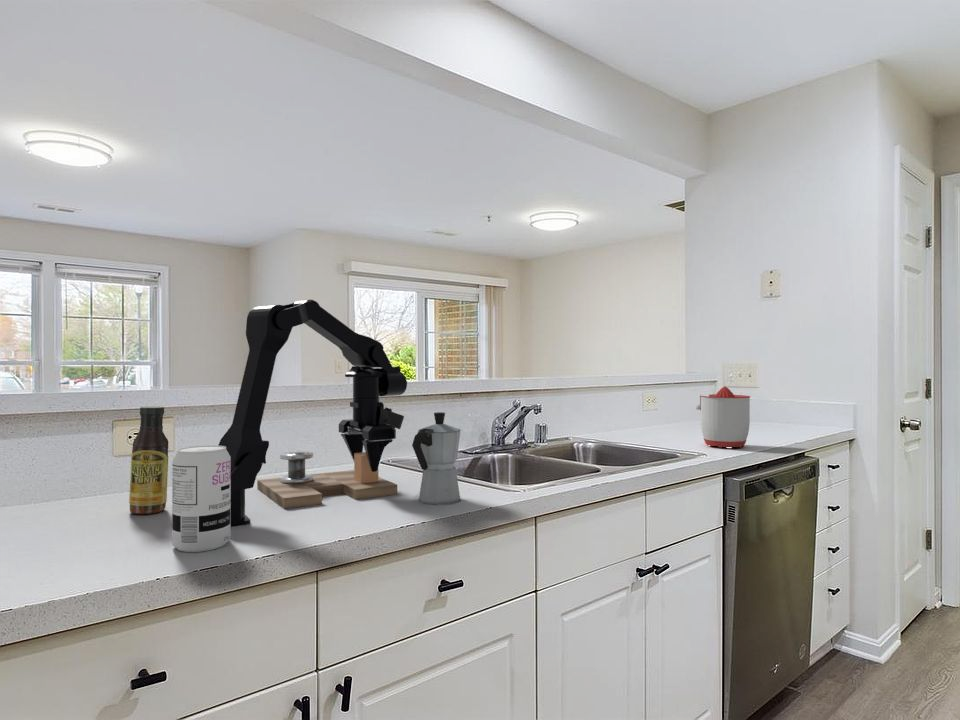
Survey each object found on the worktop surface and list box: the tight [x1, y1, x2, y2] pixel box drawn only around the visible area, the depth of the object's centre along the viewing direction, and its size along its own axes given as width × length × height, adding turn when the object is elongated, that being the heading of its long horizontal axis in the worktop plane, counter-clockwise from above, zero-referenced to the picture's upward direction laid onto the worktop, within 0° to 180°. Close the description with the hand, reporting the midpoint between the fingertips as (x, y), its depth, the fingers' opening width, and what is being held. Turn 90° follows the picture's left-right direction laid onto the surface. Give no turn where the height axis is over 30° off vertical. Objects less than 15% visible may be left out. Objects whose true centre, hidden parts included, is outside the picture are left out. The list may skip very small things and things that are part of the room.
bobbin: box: [279, 450, 314, 484], centre depth 135 cm, size 7×7×6 cm
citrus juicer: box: [696, 386, 751, 448], centre depth 204 cm, size 16×17×20 cm
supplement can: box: [171, 444, 232, 553], centre depth 95 cm, size 8×8×15 cm
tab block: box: [353, 451, 379, 483], centre depth 135 cm, size 4×4×6 cm
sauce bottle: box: [128, 405, 169, 515], centre depth 116 cm, size 6×6×20 cm
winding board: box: [256, 469, 398, 509], centre depth 133 cm, size 22×24×2 cm
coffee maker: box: [411, 411, 462, 506], centre depth 125 cm, size 15×9×18 cm, turn 149°
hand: (365, 468), depth 135 cm, fingers open, 9 cm apart
